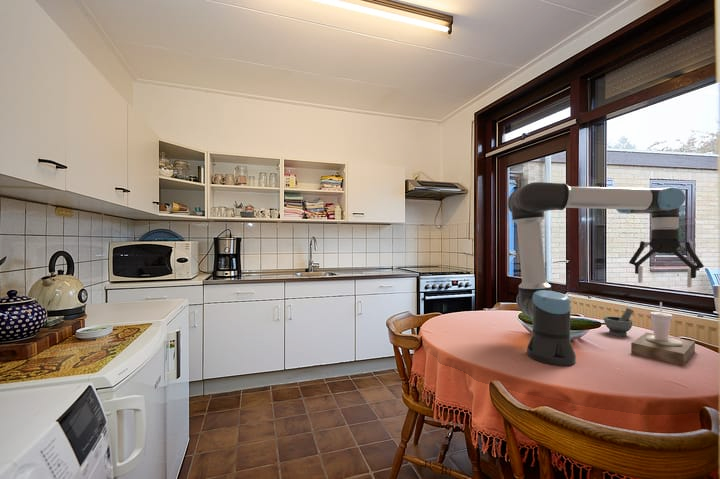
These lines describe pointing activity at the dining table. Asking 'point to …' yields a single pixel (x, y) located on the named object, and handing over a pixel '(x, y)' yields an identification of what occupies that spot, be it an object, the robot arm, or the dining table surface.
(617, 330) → the mortar and pestle
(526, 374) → the dining table surface
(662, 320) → the smoothie
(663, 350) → the base
